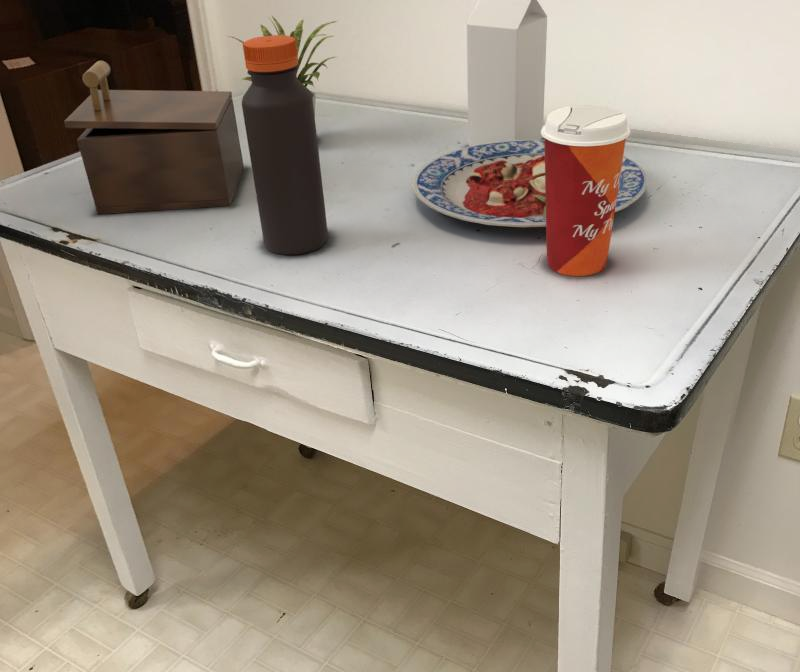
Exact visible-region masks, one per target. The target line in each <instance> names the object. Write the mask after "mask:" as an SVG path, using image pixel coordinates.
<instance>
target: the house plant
mask: <svg viewBox="0 0 800 672" xmlns="http://www.w3.org/2000/svg"><path fill="white" fill-rule="evenodd" d="M267 17H268V16H267ZM271 17H272V19H271V18H270V17H268V19H269V20H270V21H271V23H272V24H273V27H274V29H275V32H276V33H277V34H276V35H285V36H287V35H286V33H285V30H284V29H283V27H282V25H281V24H280V23H279V21H278V19H276V17H274V15H271ZM337 22H338V20H336V21H329V22H325V23H323V24H321V25H319V26H318V27H316V28H315V29H314V30H313V31H311V33H310V34H309V36H308V37H307V39H306V41H305V43H304V45H303V48H302V49H301V51H300V53H299V50H300V48H301V47H300V46H301V41H302V36H303V33H304V29H303V24H304V19H301V20H300V21H299V22H298V24H297V25H296V27H295V29H294V30H293V31H291V32H290V34H289V36H291V37H293V38H295V39H296V45H297V53H298V54H300V55H298V67H299V68H300V66H301V63H302V61H303V58H304V55H305V54H306V51H307V50H308V47H309V45H310V44H311V43H312V40H313V39H314V38H316V37H322V38H321V39H319V40H318V42H316V44H314V46H313V48H312V49H311V51H310V53H309V56H308V58H307V60H306V63H305V64H304V66H303V67H302V69H301V70H300V72H299V69H298V70H297V71H296V75H297V74H298V75H297V79H298V80H299V81H300V82H301V83H302V84H303V85H304V86H306V87H307V88H308V85H310V86H312V87H313V88H315V85H314V82H313V80H312V78H313V77H314V78H316V80H317V81H319V77H320V75H321V73H320V72H319V71H318V70H319V69H320V68H321V67H322V66H324V67H325V68H328V66H327V65H326V64H325V63H326V62H327V61H328V60H331V59H335V58H337V57H338V56H331V57H327V58H325V59H324V60H322V61H320V62H310V60H311V59H312V56H313V55H314V54H315V51H316V50H317V49H318V47H319V46H320V45H321V43H323V42H324V41H325V40H326V39H330V38H332V37H334V35H326V34H323V33H319V32H321V30H322V29H323V28H324V27H326V26H328V25H331V24H334V23H337ZM260 29H261V32H262V35H263V36H271V35H273V34H272V33H271V32H270V31H269V29H268V28H267V27H266V26H264V25H262V24H260ZM318 33H319V34H318ZM323 36H325V37H323ZM227 37H229V38H232V39H235V40H237V41H238V42H239V43H241V44H243V43H244V42H245V41H243V40H241V39H239V38H237V37H234V36H228V35H227ZM309 62H310V63H309ZM244 65H245V66H246V63H245V64H244ZM314 66H315V68H314V69H313V71H312V72H311V73H309V74H308V73H307V72H308V71H309V69H311V68H312V67H314ZM298 72H299V73H298ZM306 73H307V74H306ZM307 78H308V79H307ZM242 80H243V81H244V80H245V81H249V82H252V80H251V76H246V77H244V78H242ZM310 91H311V93H312V98H313V107H314V116H315V117H316V98H317V95H316V93H315V92H314V91H312V90H310Z"/></svg>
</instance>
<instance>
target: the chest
mask: <svg viewBox="0 0 800 672" xmlns="http://www.w3.org/2000/svg"><path fill="white" fill-rule="evenodd" d="M234 105H235V104H234V100H233V98H232V99H231V101H230V103H229V105H228V107H227V109H226V111H225V113H224V115H223V117H222V119H221V121H220V123H219V125H218V127H217V129H216V130H198V129H109V128H85V130H83V132H82V133H81V134H80V136H78V138H77V139H76V141H77V145H78V149H79V152H80V155H81V159H82V160H81V161H82V164H83V166H84V171H85V174H86V177H87V181H88V185H89V188H90V192H91V195H92V199H93V203H94V206H95V211H96V214H97V215H106V214H107V215H108V214H122V213H123V214H124V213H137V212H140V213H141V212H152V211H153V212H155V211H169V210H170V211H171V210H183V209H185V210H186V209H202V208H214V207H216V208H217V207H230V206H231V204H232V202H233V199H234V196H235V194H236V191H237V188H238V186H239V183H240V181H241V177H242V175H243V172H244V169H245V165H244V160H243V153H242V148H241V141H240V136H239V135H240V134H239V130H238V123H237V118H236V112H235V107H234Z"/></svg>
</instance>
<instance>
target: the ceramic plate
mask: <svg viewBox="0 0 800 672" xmlns="http://www.w3.org/2000/svg"><path fill="white" fill-rule="evenodd" d="M647 185H648V177H647V174H646V171H644V169H643V168H642V167H641V166H640V165H639V164H638V163H637V162H636V161H634V160H632V159H630V158H629V157H627V156H626V155H623V161H622V167H621V174H620V181H619V187H618V194H617V201H616V207H615V213H617V212H619V211H622V210H624V209H626V208H628V207H630V206H631V205H632V204H633V203H634V202H636V201H638V200H639V199H640V198H641V197H642V196H643V195H644V193H645V191H646V190H647ZM412 189H413V192H414V195H415V196H416V198H418V200H420V202H421V203H423V204H424V205H425V206H427V207H428V208H430V209H431V210H434V211H436V212H438V213H440V214H442V215H445V216H448V217H451V218H454V219H458V220H460V221H465V222H471V223H476V224H480V225H481V224H482V225H487V226H498V227H513V228H514V227H515V228H544V227H545V228H546V197H545V139H540V140H510V141H499V142H492V143H484V144H479V145H474V146H466V147H462V148H458V149H456V150H453V151H450V152H447V153H444V154H441V155H439V156H437V157H436V158H433V159H431V160H430V161H428V162H427V163H425V164H424V165H422V166H421V168H420V169H419V170H418V171H417V172H416V173H415V175H414V177H413V179H412Z"/></svg>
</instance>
